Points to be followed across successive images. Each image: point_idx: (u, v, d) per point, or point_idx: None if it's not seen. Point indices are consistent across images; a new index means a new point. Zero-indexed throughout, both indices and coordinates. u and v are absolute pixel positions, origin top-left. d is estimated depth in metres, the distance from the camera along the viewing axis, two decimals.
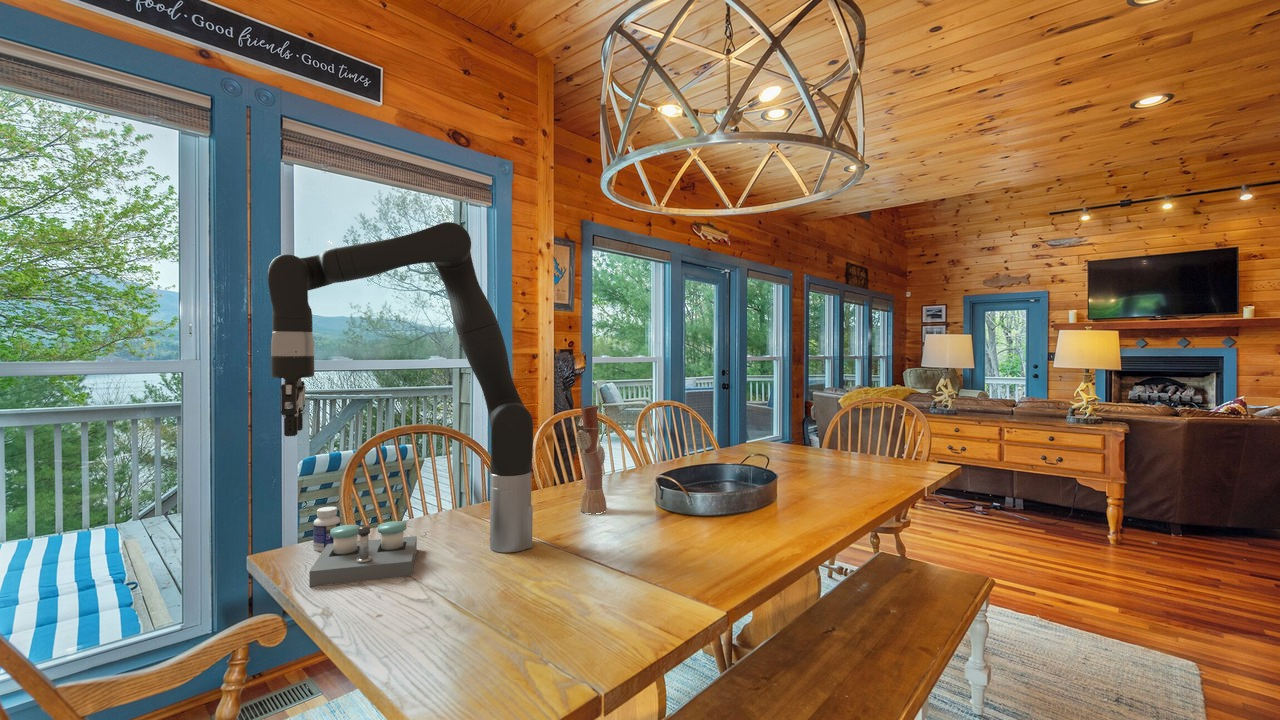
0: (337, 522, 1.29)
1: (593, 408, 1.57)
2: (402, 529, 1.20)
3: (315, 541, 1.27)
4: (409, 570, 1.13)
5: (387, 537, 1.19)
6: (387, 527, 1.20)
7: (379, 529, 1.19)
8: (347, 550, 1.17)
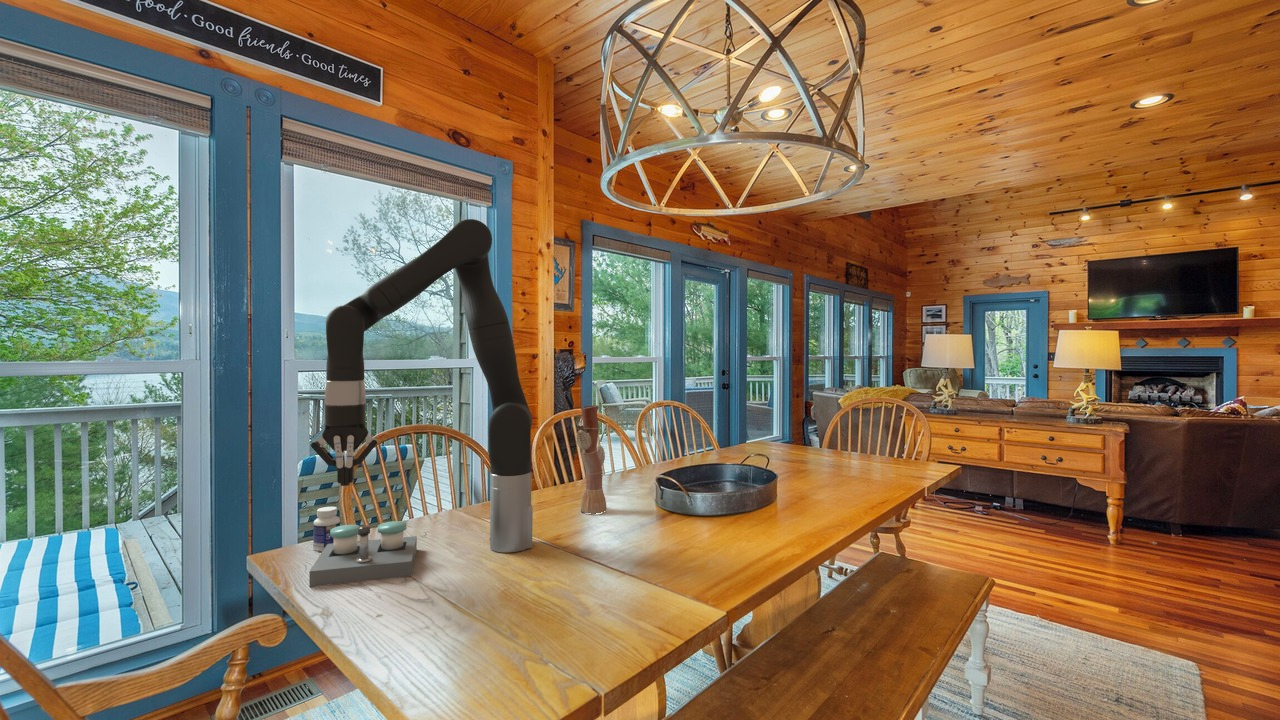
0: (337, 522, 1.29)
1: (593, 408, 1.57)
2: (402, 529, 1.20)
3: (315, 541, 1.27)
4: (409, 570, 1.13)
5: (387, 537, 1.19)
6: (387, 527, 1.20)
7: (379, 529, 1.19)
8: (347, 550, 1.17)
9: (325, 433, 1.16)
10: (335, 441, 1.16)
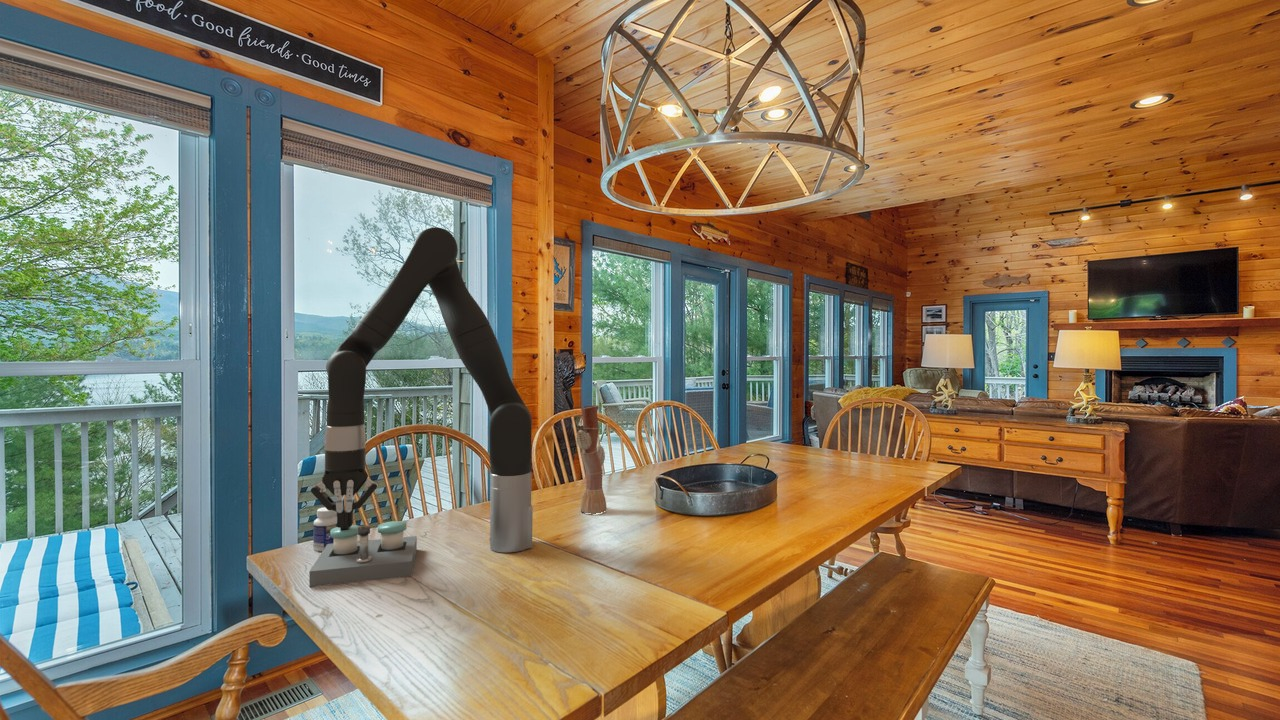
0: None
1: (593, 408, 1.57)
2: (402, 529, 1.20)
3: (315, 541, 1.27)
4: (409, 570, 1.13)
5: (387, 537, 1.19)
6: (387, 527, 1.20)
7: (379, 529, 1.19)
8: (347, 550, 1.17)
9: (325, 478, 1.16)
10: (335, 486, 1.16)
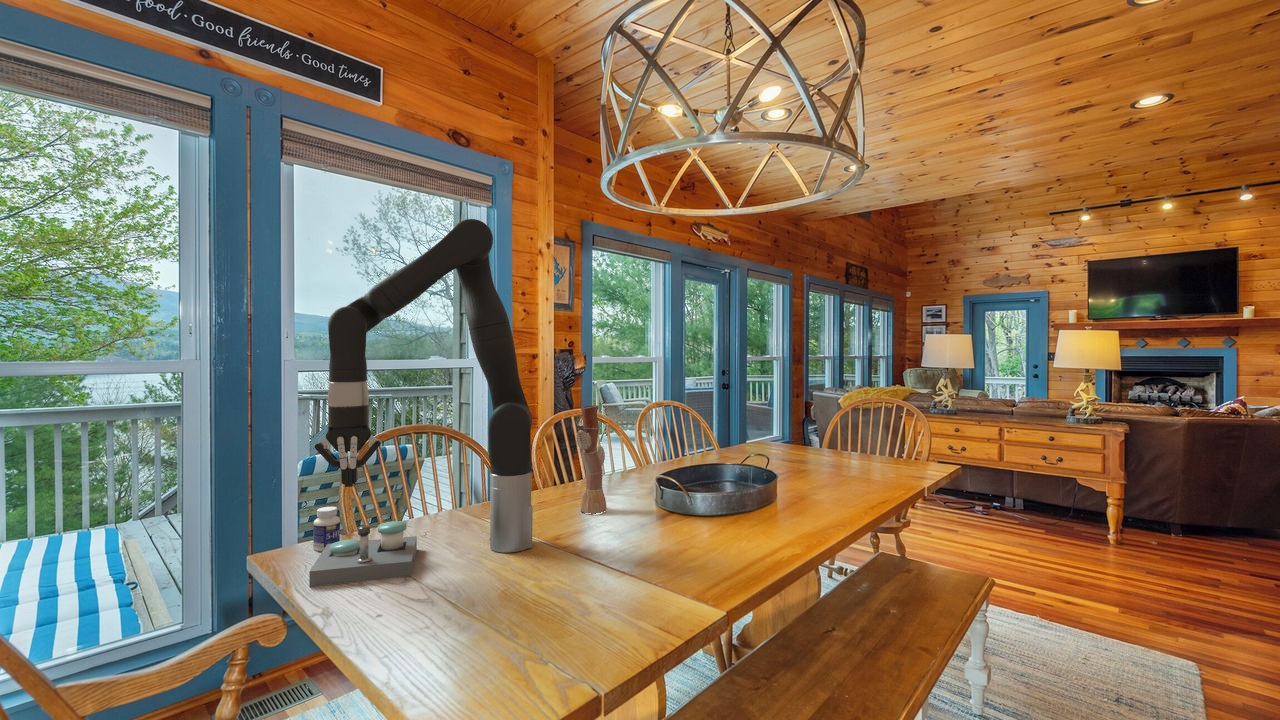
0: (337, 522, 1.29)
1: (593, 408, 1.57)
2: (402, 529, 1.20)
3: (315, 541, 1.27)
4: (409, 570, 1.13)
5: (387, 537, 1.19)
6: (387, 527, 1.20)
7: (379, 529, 1.19)
8: None
9: (328, 434, 1.16)
10: (339, 442, 1.16)
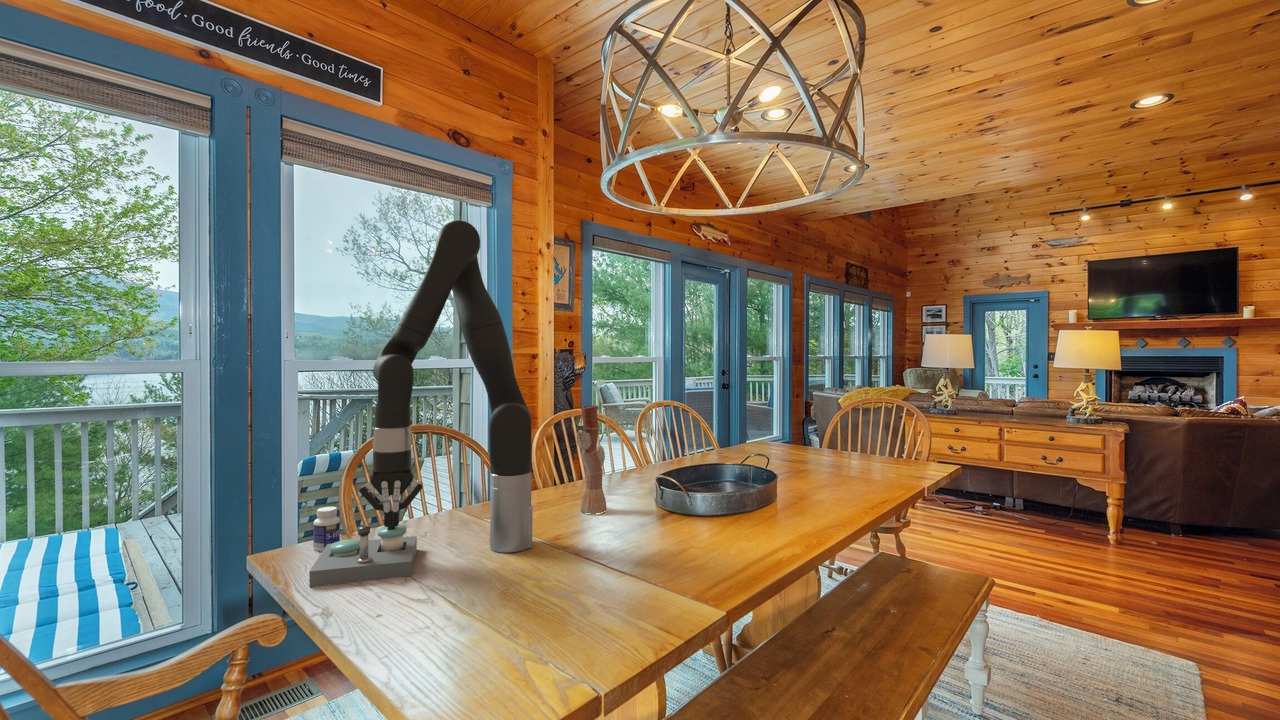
0: (337, 522, 1.29)
1: (593, 408, 1.57)
2: (402, 533, 1.20)
3: (315, 541, 1.27)
4: (409, 570, 1.13)
5: (387, 540, 1.19)
6: (387, 531, 1.20)
7: (379, 533, 1.19)
8: None
9: (373, 478, 1.19)
10: (383, 486, 1.19)
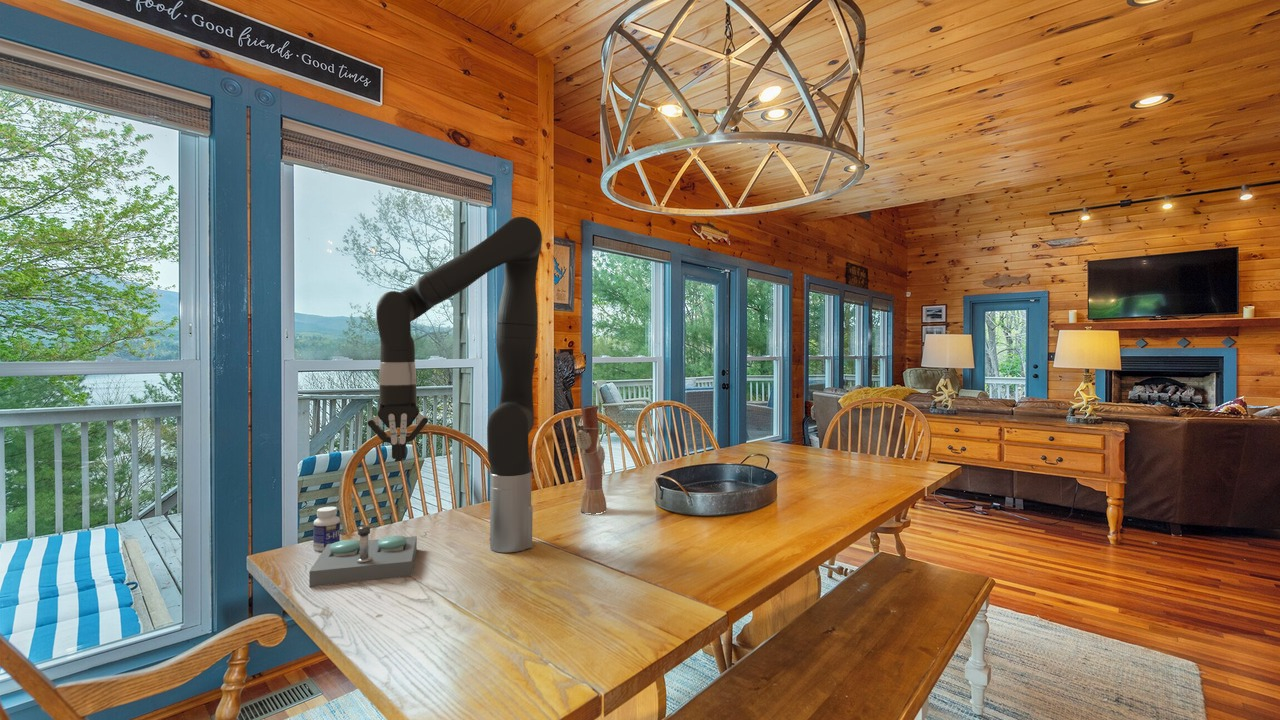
0: (337, 522, 1.29)
1: (593, 408, 1.57)
2: (402, 544, 1.20)
3: (315, 541, 1.27)
4: (409, 570, 1.13)
5: None
6: (387, 542, 1.20)
7: (379, 544, 1.19)
8: None
9: (380, 412, 1.24)
10: (390, 419, 1.24)
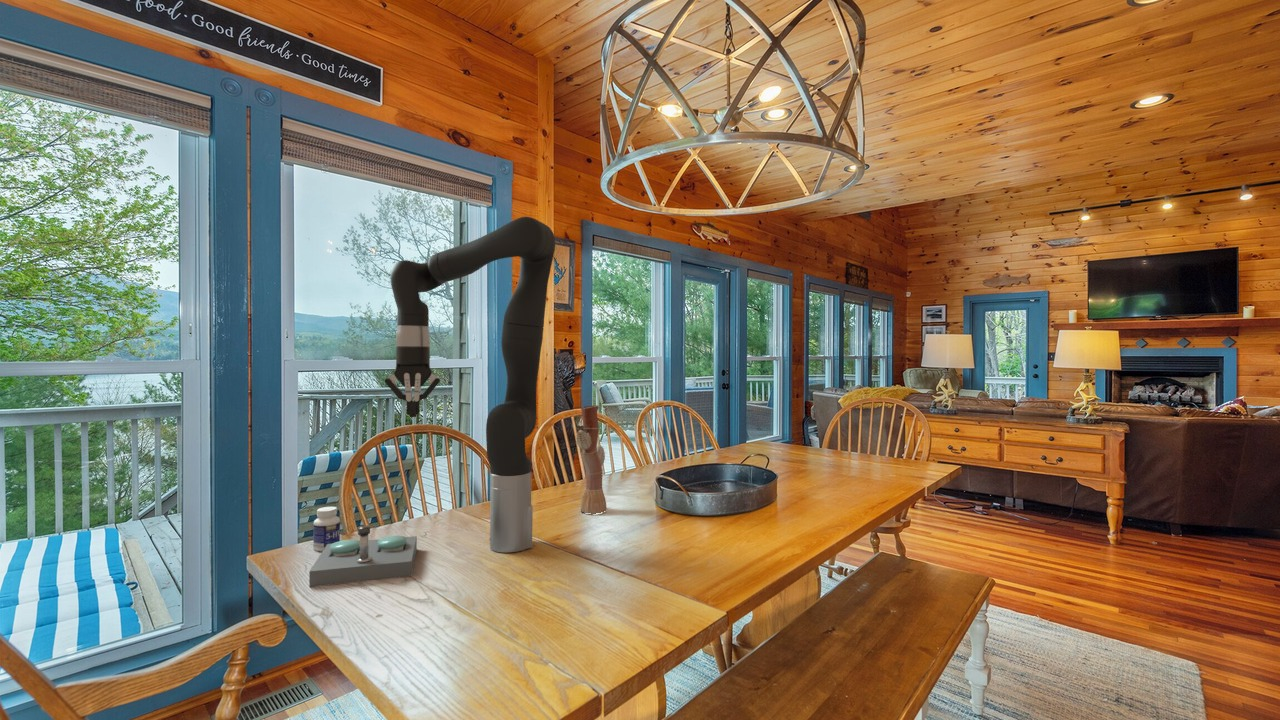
0: (337, 522, 1.29)
1: (593, 408, 1.57)
2: (402, 544, 1.20)
3: (315, 541, 1.27)
4: (409, 570, 1.13)
5: None
6: (387, 542, 1.20)
7: (379, 544, 1.19)
8: None
9: (396, 371, 1.35)
10: (405, 378, 1.35)
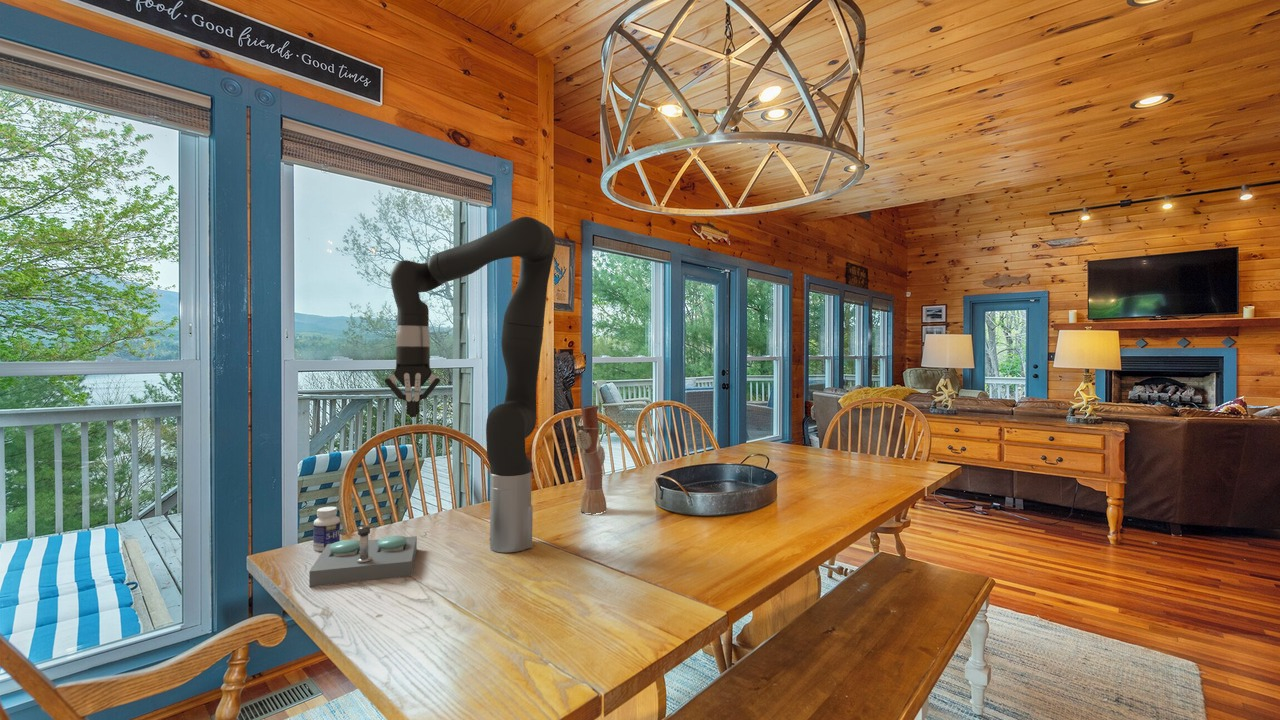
0: (337, 522, 1.29)
1: (593, 408, 1.57)
2: (402, 544, 1.20)
3: (315, 541, 1.27)
4: (409, 570, 1.13)
5: None
6: (387, 542, 1.20)
7: (379, 544, 1.19)
8: None
9: (396, 371, 1.35)
10: (405, 378, 1.35)
